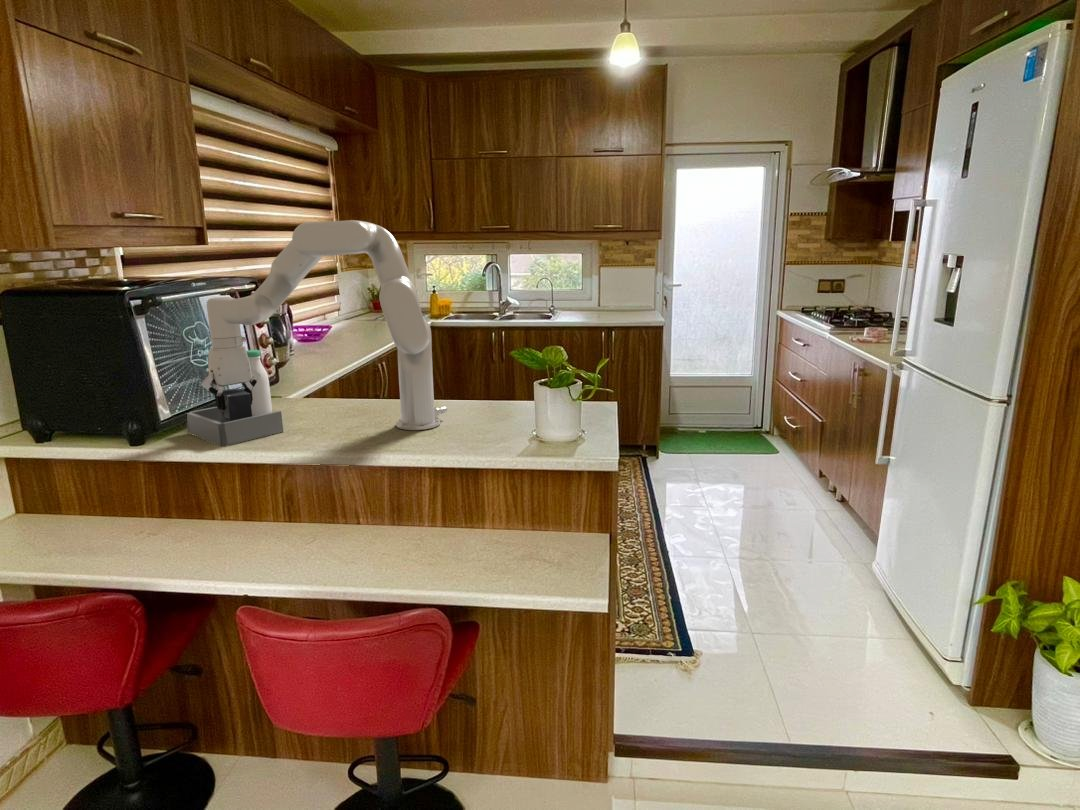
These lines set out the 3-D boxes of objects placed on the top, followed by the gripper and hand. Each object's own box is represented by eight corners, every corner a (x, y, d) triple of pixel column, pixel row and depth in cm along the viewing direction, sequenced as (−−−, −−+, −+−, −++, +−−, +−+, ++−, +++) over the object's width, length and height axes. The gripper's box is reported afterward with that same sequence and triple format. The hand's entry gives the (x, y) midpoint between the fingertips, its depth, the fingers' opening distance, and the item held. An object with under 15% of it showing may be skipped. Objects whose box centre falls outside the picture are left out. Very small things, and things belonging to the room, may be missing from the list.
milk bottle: (277, 411, 210) (270, 348, 205) (264, 418, 203) (257, 352, 198) (253, 411, 211) (246, 348, 206) (240, 417, 203) (232, 352, 199)
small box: (255, 429, 185) (251, 392, 183) (231, 434, 181) (226, 396, 179) (244, 422, 193) (239, 386, 191) (220, 426, 189) (215, 390, 187)
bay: (246, 420, 200) (244, 401, 198) (283, 432, 187) (281, 411, 186) (187, 433, 187) (184, 412, 185) (222, 446, 174) (220, 424, 173)
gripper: (250, 338, 190) (257, 398, 195) (188, 346, 177) (197, 411, 182) (264, 340, 186) (271, 402, 190) (201, 348, 173) (210, 415, 177)
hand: (235, 406), depth 186 cm, fingers closed on small box, 7 cm apart
